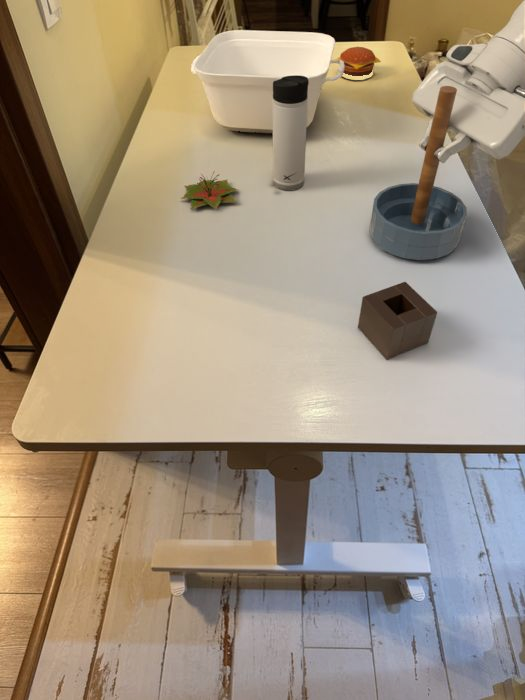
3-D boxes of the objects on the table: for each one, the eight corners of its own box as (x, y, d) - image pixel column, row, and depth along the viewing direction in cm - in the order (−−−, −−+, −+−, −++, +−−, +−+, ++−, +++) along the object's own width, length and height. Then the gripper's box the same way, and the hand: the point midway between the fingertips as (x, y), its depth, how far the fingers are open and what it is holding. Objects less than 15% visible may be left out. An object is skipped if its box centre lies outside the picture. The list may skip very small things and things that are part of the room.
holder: (398, 311, 78) (405, 281, 74) (428, 342, 74) (437, 312, 69) (357, 327, 76) (362, 296, 72) (386, 360, 72) (393, 329, 67)
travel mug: (291, 195, 101) (294, 87, 86) (266, 183, 104) (264, 78, 89) (311, 182, 104) (317, 76, 89) (286, 171, 107) (288, 67, 92)
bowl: (440, 209, 96) (448, 180, 92) (470, 259, 86) (481, 229, 82) (360, 216, 96) (364, 186, 91) (381, 267, 85) (387, 236, 81)
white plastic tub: (343, 98, 131) (349, 33, 120) (334, 151, 112) (340, 79, 102) (213, 92, 136) (207, 28, 125) (183, 142, 117) (173, 72, 106)
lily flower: (175, 186, 104) (172, 164, 101) (233, 177, 106) (232, 156, 103) (184, 218, 96) (180, 196, 93) (247, 208, 98) (245, 186, 95)
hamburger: (355, 66, 146) (358, 40, 141) (380, 76, 141) (384, 49, 136) (330, 74, 142) (333, 47, 138) (355, 84, 137) (358, 57, 132)
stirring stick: (422, 216, 91) (453, 85, 75) (426, 223, 90) (459, 91, 74) (408, 217, 91) (437, 86, 75) (412, 224, 90) (443, 92, 73)
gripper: (557, 115, 73) (483, 194, 77) (460, 67, 85) (401, 138, 90) (546, 88, 68) (467, 174, 73) (445, 42, 81) (383, 118, 85)
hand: (430, 154), depth 81 cm, fingers closed on stirring stick, 2 cm apart
